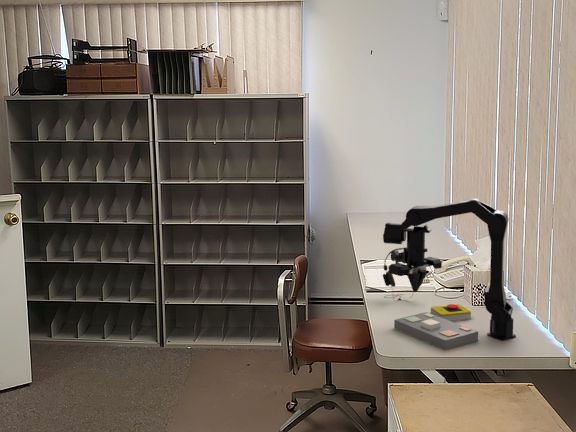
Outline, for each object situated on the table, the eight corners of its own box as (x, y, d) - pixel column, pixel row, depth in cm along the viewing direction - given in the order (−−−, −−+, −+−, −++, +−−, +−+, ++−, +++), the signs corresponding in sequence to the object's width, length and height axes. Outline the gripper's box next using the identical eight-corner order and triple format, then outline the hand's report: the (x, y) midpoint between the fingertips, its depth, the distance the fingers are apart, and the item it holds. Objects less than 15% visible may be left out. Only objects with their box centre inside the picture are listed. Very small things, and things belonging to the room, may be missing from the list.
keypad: (478, 340, 207) (478, 330, 206) (445, 349, 199) (445, 339, 199) (425, 320, 226) (426, 311, 226) (394, 328, 219) (394, 318, 218)
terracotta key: (458, 339, 204) (458, 333, 204) (448, 342, 202) (448, 336, 202) (448, 335, 208) (448, 329, 207) (438, 338, 205) (438, 332, 205)
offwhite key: (440, 328, 211) (440, 322, 210) (430, 331, 208) (430, 325, 208) (430, 324, 214) (430, 319, 214) (420, 327, 212) (421, 321, 212)
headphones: (421, 294, 256) (422, 244, 252) (424, 303, 245) (425, 250, 241) (381, 294, 257) (382, 243, 254) (382, 303, 246) (383, 250, 243)
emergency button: (476, 308, 226) (435, 311, 223) (476, 320, 227) (435, 324, 224) (463, 300, 235) (424, 303, 232) (463, 312, 236) (423, 315, 233)
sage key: (422, 325, 218) (422, 319, 217) (412, 327, 215) (412, 321, 215) (413, 321, 221) (413, 316, 221) (404, 324, 219) (404, 318, 219)
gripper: (419, 237, 227) (418, 281, 230) (377, 244, 218) (377, 290, 220) (443, 243, 218) (442, 289, 221) (400, 250, 208) (400, 298, 211)
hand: (415, 291), depth 218 cm, fingers closed
